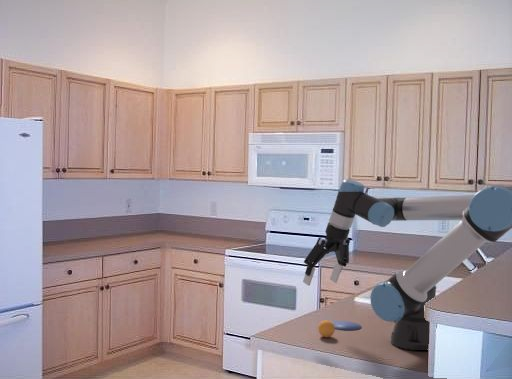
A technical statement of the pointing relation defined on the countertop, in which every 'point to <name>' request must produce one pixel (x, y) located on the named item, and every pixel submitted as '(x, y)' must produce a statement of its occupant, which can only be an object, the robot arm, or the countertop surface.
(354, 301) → the countertop surface
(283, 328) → the countertop surface
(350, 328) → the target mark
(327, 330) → the ball
